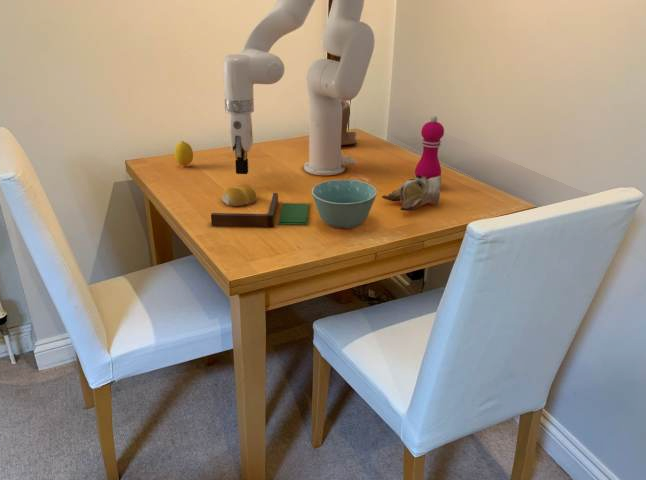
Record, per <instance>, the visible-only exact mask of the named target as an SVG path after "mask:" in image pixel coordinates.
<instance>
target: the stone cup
mask: <svg viewBox="0 0 646 480" xmlns="http://www.w3.org/2000/svg"><path fill="white" fill-rule="evenodd" d="M341 105H342V130H341V146H347V145H356V144H357V139H356V135H357V133H356V131H347V130H348V125H349V121H350V117H351V108H350V105H349V101H348V102H347V101H343V100H341Z"/></svg>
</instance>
